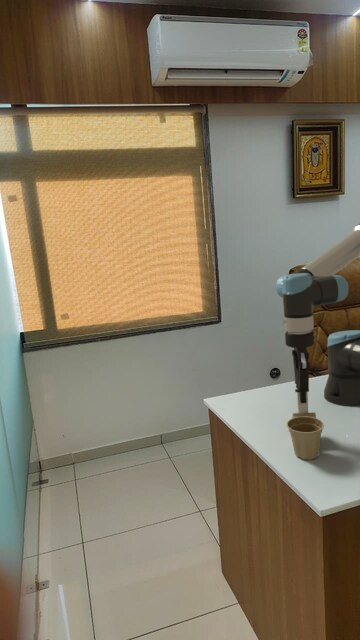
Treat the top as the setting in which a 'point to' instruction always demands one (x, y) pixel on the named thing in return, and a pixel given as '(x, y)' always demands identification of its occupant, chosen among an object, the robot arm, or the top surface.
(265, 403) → the top surface
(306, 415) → the tan cube
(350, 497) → the top surface
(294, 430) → the flower pot
